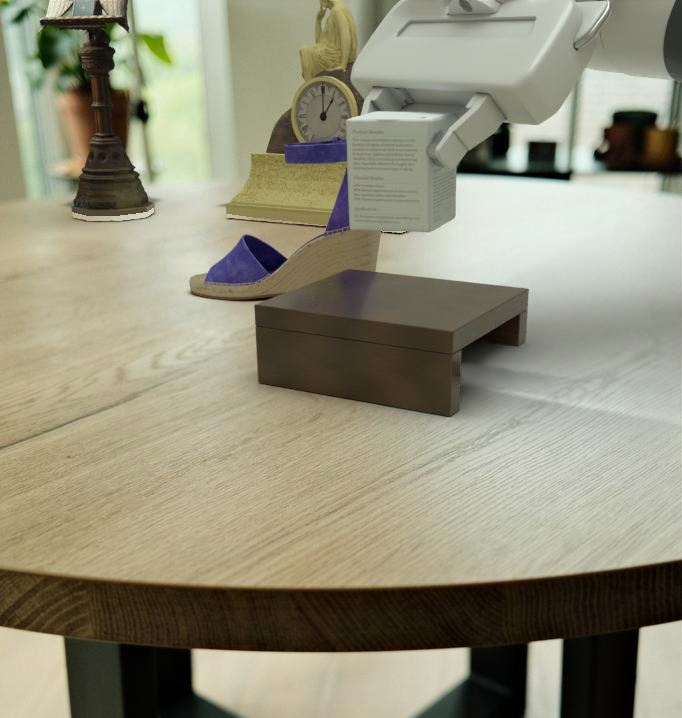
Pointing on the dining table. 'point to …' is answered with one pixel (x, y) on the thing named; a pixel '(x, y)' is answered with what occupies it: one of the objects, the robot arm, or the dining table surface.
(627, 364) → the dining table surface
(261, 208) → the decorative clock
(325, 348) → the low wooden riser
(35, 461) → the dining table surface
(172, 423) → the dining table surface
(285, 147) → the sandal
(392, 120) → the product box
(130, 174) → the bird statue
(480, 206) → the dining table surface
